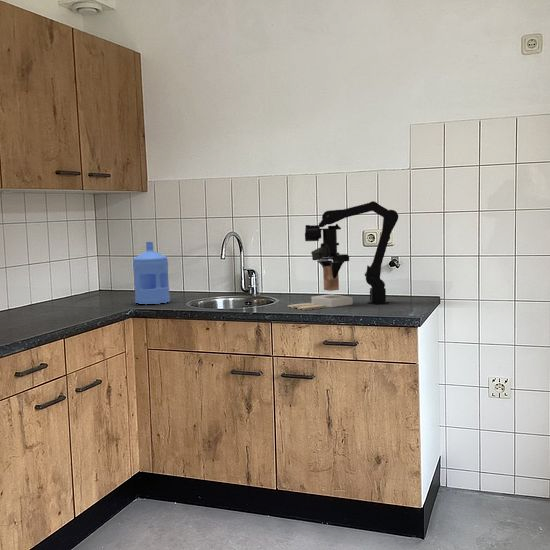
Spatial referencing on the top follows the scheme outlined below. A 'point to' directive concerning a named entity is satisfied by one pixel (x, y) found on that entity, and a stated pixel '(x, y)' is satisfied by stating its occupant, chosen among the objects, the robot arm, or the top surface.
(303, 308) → the slatted wooden trivet
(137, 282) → the water jug
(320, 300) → the pocket plate
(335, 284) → the terracotta peg
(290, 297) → the top surface
